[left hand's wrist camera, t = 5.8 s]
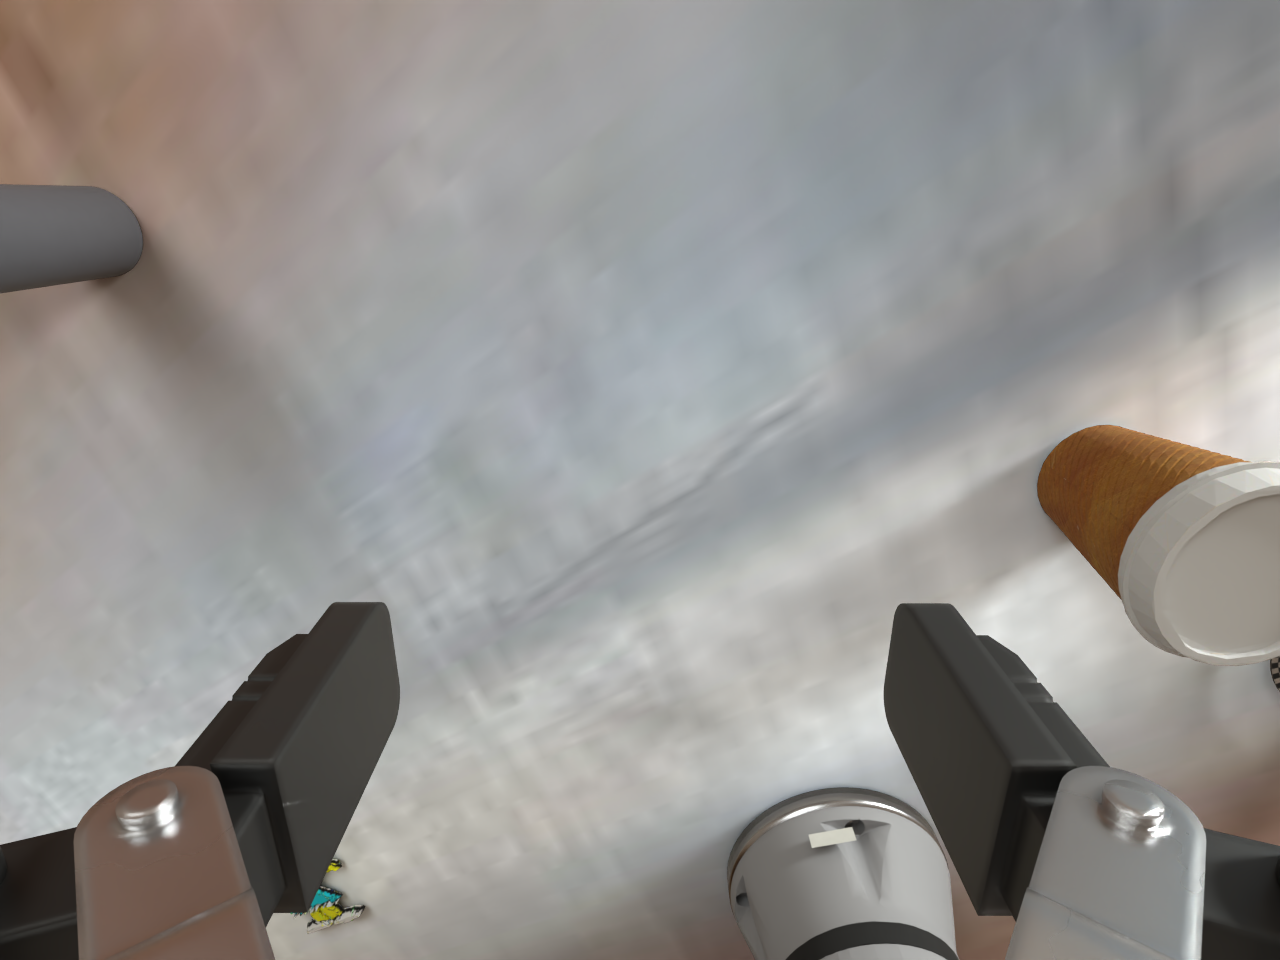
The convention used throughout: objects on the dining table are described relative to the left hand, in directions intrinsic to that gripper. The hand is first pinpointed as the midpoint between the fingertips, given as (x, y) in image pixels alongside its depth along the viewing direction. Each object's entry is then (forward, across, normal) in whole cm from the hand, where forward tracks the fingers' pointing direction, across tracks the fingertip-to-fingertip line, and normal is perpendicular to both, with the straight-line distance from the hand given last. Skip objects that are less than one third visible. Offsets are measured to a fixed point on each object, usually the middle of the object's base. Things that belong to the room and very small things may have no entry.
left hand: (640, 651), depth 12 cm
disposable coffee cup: (+29, -26, +8) cm, 40 cm away
